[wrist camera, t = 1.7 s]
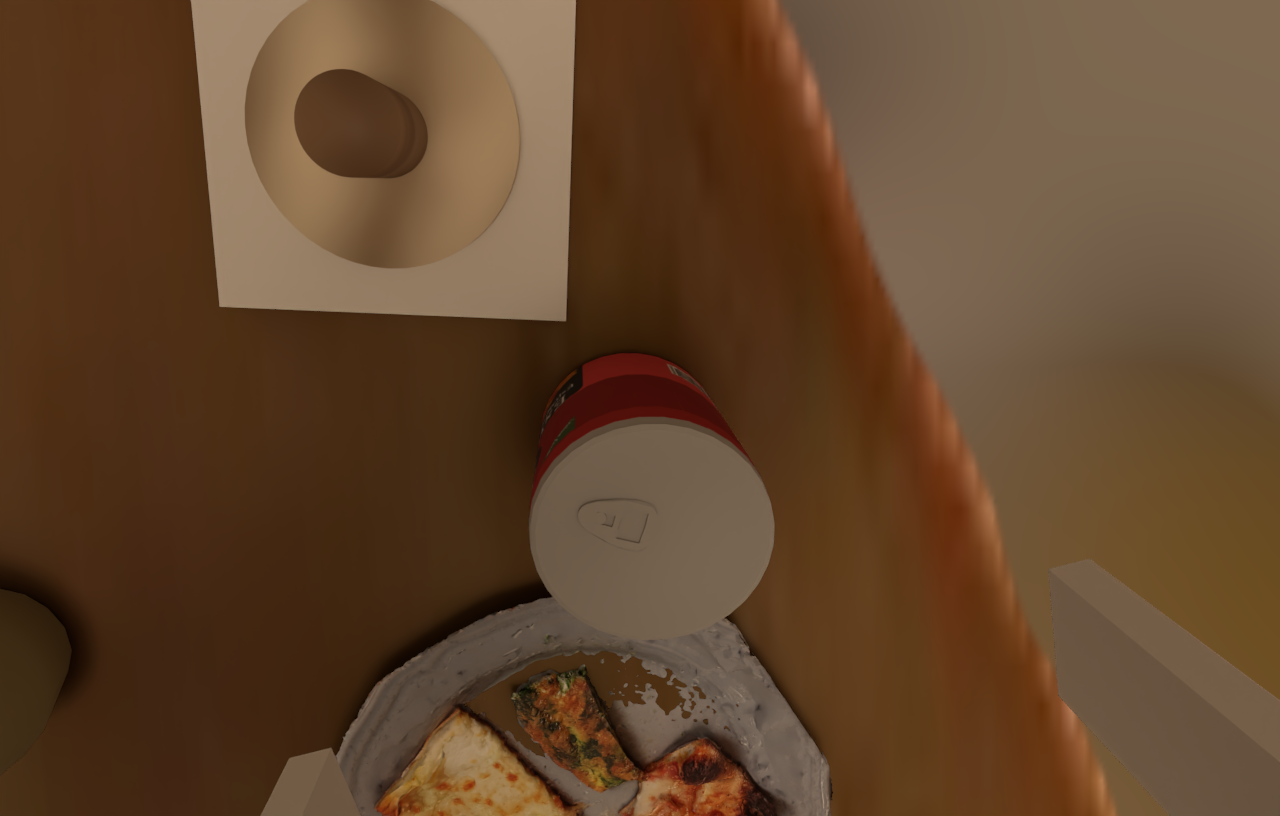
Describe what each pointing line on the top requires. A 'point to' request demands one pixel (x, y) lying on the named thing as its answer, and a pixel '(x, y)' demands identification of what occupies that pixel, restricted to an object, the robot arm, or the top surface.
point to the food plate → (581, 730)
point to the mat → (455, 286)
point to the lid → (382, 129)
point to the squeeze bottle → (28, 672)
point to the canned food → (645, 502)
